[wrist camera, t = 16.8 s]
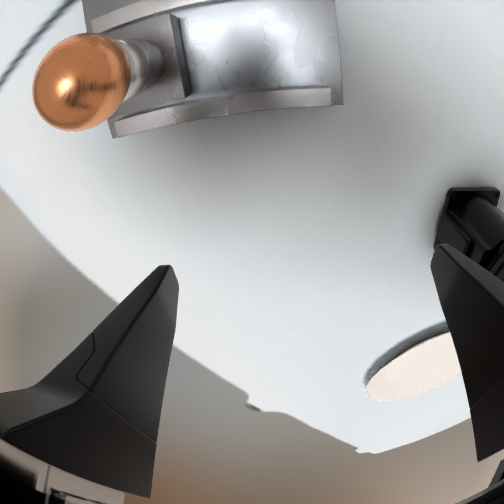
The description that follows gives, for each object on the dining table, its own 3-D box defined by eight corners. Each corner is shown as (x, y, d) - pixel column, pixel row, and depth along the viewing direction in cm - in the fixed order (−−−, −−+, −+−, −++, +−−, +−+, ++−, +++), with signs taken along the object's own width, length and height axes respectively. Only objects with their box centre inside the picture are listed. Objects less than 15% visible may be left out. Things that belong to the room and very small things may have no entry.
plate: (502, 316, 32) (507, 326, 31) (430, 385, 45) (433, 394, 44) (413, 312, 30) (420, 327, 28) (340, 393, 43) (342, 405, 41)
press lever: (177, 16, 11) (100, -10, 4) (191, 93, 14) (134, 144, 7) (104, 39, 12) (-7, 55, 5) (120, 111, 15) (29, 177, 8)
